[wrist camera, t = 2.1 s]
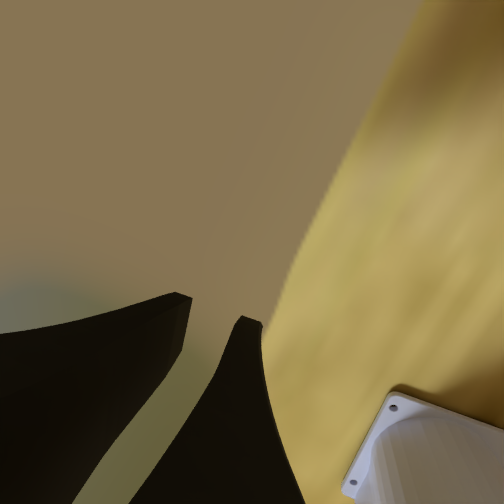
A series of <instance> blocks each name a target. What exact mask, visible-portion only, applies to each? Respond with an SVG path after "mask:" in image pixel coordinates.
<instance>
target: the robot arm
mask: <svg viewBox="0 0 504 504" xmlns="http://www.w3.org/2000/svg"><path fill="white" fill-rule="evenodd" d="M191 304H192V298H191V297H188V296H186V295H183V294H180V293H177V292H173V293H169V294H165V295H162V296H159V297H156V298H153V299H149V300H146V301H143V302H140V303H137V304H134V305H130V306H127V307H124V308H121V309H118V310H114V311H110V312H107V313H103V314H99V315H96V316H92V317H88V318H84V319H80V320H76V321H72V322H68V323H63V324H58V325H53V326H48V327H42V328H37V329H31V330H26V331H18V332H12V333H3V334H0V504H72V502H73V501H74V499H75V498H76V496H77V495H78V493H79V492H80V490H81V489H82V487H83V486H84V484H85V483H86V481H87V480H88V478H89V477H90V475H91V473H92V472H93V471H94V469H95V468H96V466H97V465H98V463H99V462H100V460H101V459H102V457H103V456H104V455H105V453H106V452H107V451H108V449H109V448H110V447H111V445H112V444H113V443H114V441H115V440H116V439H117V437H118V436H119V435H120V434H121V433H122V431H123V430H124V429H125V427H126V426H127V425H128V424H129V423H130V421H131V420H132V419H133V417H134V416H135V415H136V414H137V412H138V411H139V410H140V409H141V407H142V406H143V405H144V404H145V403H146V401H147V400H148V399H149V397H150V396H151V395H152V394H153V392H154V391H155V390H156V388H157V387H158V386H159V385H160V384H161V382H162V381H163V380H164V378H165V377H166V375H167V374H168V372H169V371H170V369H171V367H172V366H173V364H174V363H175V361H176V359H177V357H178V356H179V354H180V352H181V351H182V347H183V342H184V337H185V333H186V328H187V323H188V318H189V313H190V309H191ZM262 328H263V326H262V324H261V322H259V321H256V320H254V319H251V318H248V317H245V316H241V317H240V318H239V319H238V320H237V322H236V323H235V325H234V327H233V330H232V332H231V335H230V337H229V340H228V343H227V345H226V347H225V350H224V352H223V355H222V357H221V360H220V363H219V365H218V367H217V369H216V372H215V374H214V376H213V378H212V379H211V381H210V383H209V384H208V386H207V388H206V389H205V391H204V393H203V394H202V396H201V398H200V399H199V401H198V403H197V404H196V406H195V407H194V409H193V410H192V412H191V414H190V415H189V417H188V418H187V420H186V422H185V423H184V425H183V426H182V428H181V429H180V431H179V432H178V434H177V435H176V437H175V438H174V440H173V441H172V443H171V444H170V446H169V447H168V449H167V450H166V452H165V453H164V454H163V456H162V457H161V459H160V460H159V462H158V463H157V465H156V466H155V468H154V469H153V471H152V472H151V474H150V475H149V476H148V478H147V479H146V480H145V482H144V483H143V485H142V486H141V487H140V489H139V490H138V491H137V493H136V494H135V496H134V497H133V498H132V500H131V501H130V502H129V504H305V501H304V499H303V496H302V494H301V491H300V489H299V486H298V484H297V481H296V479H295V476H294V474H293V471H292V469H291V466H290V464H289V461H288V459H287V456H286V453H285V450H284V447H283V444H282V441H281V438H280V435H279V432H278V429H277V426H276V422H275V419H274V416H273V412H272V408H271V404H270V400H269V396H268V391H267V386H266V381H265V375H264V368H263V361H262V351H261V333H262ZM391 405H396V406H395V407H390V406H391ZM341 491H342V493H343V494H344V495H346V496H348V497H350V498H353V499H355V504H504V430H502V429H500V428H497V427H494V426H491V425H489V424H486V423H483V422H480V421H477V420H475V419H472V418H469V417H466V416H464V415H461V414H458V413H455V412H453V411H450V410H447V409H444V408H442V407H439V406H436V405H433V404H430V403H428V402H425V401H422V400H419V399H417V398H414V397H411V396H408V395H406V394H403V393H400V392H396V391H394V392H391V393H389V394H388V395H387V397H386V399H385V401H384V403H383V405H382V407H381V409H380V411H379V413H378V415H377V417H376V418H375V420H374V422H373V424H372V426H371V428H370V430H369V432H368V434H367V436H366V438H365V440H364V442H363V443H362V445H361V447H360V449H359V451H358V453H357V455H356V457H355V459H354V461H353V463H352V465H351V467H350V468H349V470H348V472H347V474H346V476H345V478H344V480H343V482H342V484H341Z"/></svg>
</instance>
